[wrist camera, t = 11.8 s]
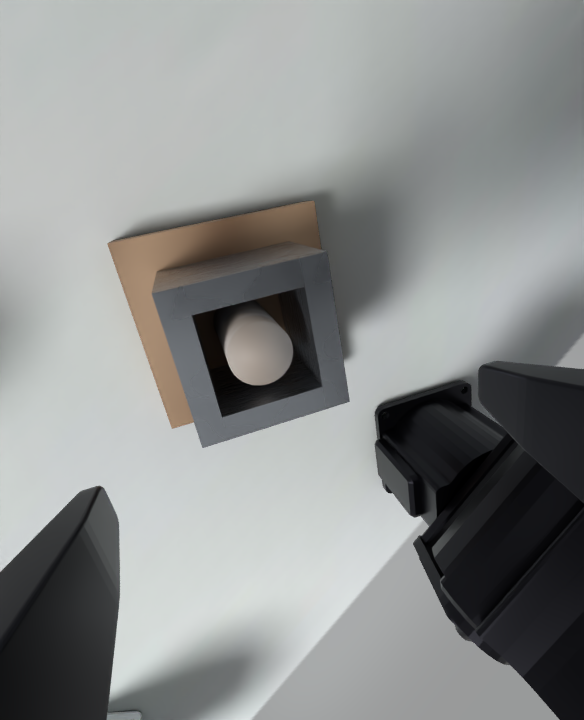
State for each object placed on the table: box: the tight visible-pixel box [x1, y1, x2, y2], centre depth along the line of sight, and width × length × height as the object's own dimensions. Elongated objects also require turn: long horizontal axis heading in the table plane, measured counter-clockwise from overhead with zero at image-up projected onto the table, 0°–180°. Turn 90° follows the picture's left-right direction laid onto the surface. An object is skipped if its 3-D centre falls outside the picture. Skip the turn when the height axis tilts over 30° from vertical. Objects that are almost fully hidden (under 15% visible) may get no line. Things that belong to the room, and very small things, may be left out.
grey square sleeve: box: [152, 241, 350, 448], centre depth 17 cm, size 6×6×5 cm
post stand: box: [107, 201, 321, 429], centre depth 18 cm, size 9×9×6 cm
